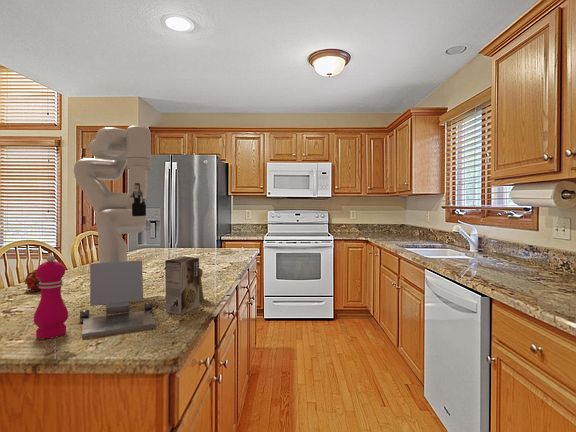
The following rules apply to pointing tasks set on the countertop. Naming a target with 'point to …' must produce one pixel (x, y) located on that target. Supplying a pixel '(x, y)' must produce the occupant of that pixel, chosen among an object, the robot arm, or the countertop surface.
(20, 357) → the countertop surface
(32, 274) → the dragon fruit
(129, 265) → the panel
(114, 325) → the hinge base
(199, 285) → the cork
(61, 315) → the pepper mill
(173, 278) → the coffee box
